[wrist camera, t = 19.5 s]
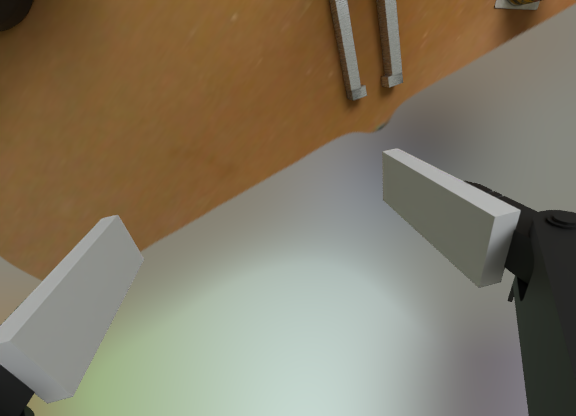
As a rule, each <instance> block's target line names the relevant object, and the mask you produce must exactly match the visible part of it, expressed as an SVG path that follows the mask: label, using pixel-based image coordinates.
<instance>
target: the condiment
mask: <svg viewBox="0 0 576 416" xmlns="http://www.w3.org/2000/svg"><path fill="white" fill-rule="evenodd" d="M540 1H542V0H496V4H495V8H506V9H526V10H527V9H529V10H537V8H538V5H539V2H540Z"/></svg>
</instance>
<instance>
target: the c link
mask: <svg viewBox="0 0 576 416" xmlns="http://www.w3.org/2000/svg"><path fill="white" fill-rule="evenodd" d="M329 2H330V7H331V12H332V18H333V23H334V28H335V34H336V39H337V45H338V50H339V55H340V61H341V66H342V71H343V77H344V82H345V87H346V93H347V98H348V99H349V100H356V99H359V98H362V97H364V96H367V93H366V87H365V85H360V78H359V72H358V66H357V59H356V53H355V47H354V41H353V34H352V28H351V22H350V16H349V9H348V3H347V0H329ZM376 2H377V11H378V20H379V28H380V37H381V46H382V54H383V63H384V72H385V75H384V76H381V83H382V87H392V86H395V85H398V84H400V83H403V77H402V66H401V54H400V42H399V30H398V19H397V7H396V0H376Z"/></svg>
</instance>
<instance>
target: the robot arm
mask: <svg viewBox="0 0 576 416" xmlns="http://www.w3.org/2000/svg"><path fill="white" fill-rule="evenodd" d="M32 1H33V0H0V31H4V30H7V29H9V28H12V27H13V26H15V25H17V24H18V23H19V22H20V21H21V20H22V19H23V18H24V17H25V16H26V14H27V13H28V11H29V9H30V7H31V4H32ZM382 153H383V154H382V155H383V200H384V201H385V202H386V203H387V204H388V205H389V206H390V207H391V208H393V210H395V211H396V212H397V213H398V214H399V215H400V216H401V217H402V218H403V219H404V220H405V221H407V222H408V223H409V224H410V225H411V226H412V227H413V228H414V229H415V230H416V231H417V232H418V233H420V234H421V235H422V236H423V237H424V238H425V239H426V240H427V241H428V242H429V243H430V244H432V245H433V246H434V247H435V248H436V249H437V250H438V251H439V252H440V253H441V254H442V255H444V256H445V257H446V258H447V259H448V260H449V261H450V262H451V263H452V264H453V265H455V267H457V268H458V269H459V270H460V271H461V272H462V273H463V274H464V275H465V276H466V277H467V278H469V279H470V280H471V281H472V282H473V283H474V284H475V285H476V286H477V287H478V288H481V287H484V286H488V285H492V284H495V283H499V282H501V280H502V276H503V272H504V269H505V268H507V269H508V270H509V271H510V272H512V273H513V274H514V275H515V278H514V281H513V284H512V288H511V291H510V294H509V298H508V301H510V302H512V300H513V297H514V298H515V305H516V315H517V323H518V331H519V339H520V347H521V356H522V363H523V372H524V380H525V388H526V396H527V404H528V413H529V416H576V213H574V212H567V211H561V210H546V211H541V212H537V211H535V210H532V209H531V208H528V207H526V206H524V205H522V204H520V203H518V202H516V201H514V200H512V199H510V198H508V197H505V196H502V195H501V194H499V193H497V192H495V191H494V192H493V191H492V190H490V189H489V188H487V187H485V186H483V185H480V184H477V183H472V182H468V181H462V180H459V179H457V178H456V177H453V176H451V175H450V174H448V173H446V172H444V171H442V170H440V169H438V168H436V167H434V166H432V165H429V164H428V163H426V162H424V161H422V160H420V159H418V158H416V157H413V156H412V155H410V154H408V153H406V152H404V151H402V150H400V149H398V148H396V149H392V150H387V151H383V152H382ZM143 260H144V258H143V256H142V255H141V253H140V251H139V249H138V248H137V246H136V244H135V243H134V241H133V239H132V238H131V236H130V234H129V232H128V231H127V229H126V227H125V226H124V224H123V222H122V221H121V219H120V217H119V215H115V216H110V217H106V218H102V219H101V220H100V221H99V222H98V223H97V224H96V225H95V226H94V227H93V228H92V229H91V230H90V232H89V233H88V234H87V235H86V236H85V237H84V238H83V239H82V240H81V241H80V242H79V243H78V244H77V245H76V246H75V247H74V248H73V250H72V251H71V252H70V253H69V254H68V255H67V256H66V257H65V258H64V259H63V260H62V261H61V262H60V263H59V264H58V265H57V266H56V267H55V269H54V270H53V271H52V272H51V273H50V274H49V275H48V276H47V277H46V278H45V279H44V280H43V281H42V282H41V283H40V284H39V286H38V287H37V288H36V289H35V290H34V291H33V292H32V293H31V294H30V295H29V296H28V297H27V298H26V299H25V300H24V301H23V302H22V303H21V304H20V305H19V306H18V307H17V308H16V309H15V310H14V312H13V313H12V314H11V315H10V316H9V317H8V318H7V319H6V320H5V321H4V322H3V324H1V325H0V416H34V413H33V411H32V410H31V409H30V408H29V407H27V406H26V405H27V404H28V402H29V400H30V399H31V397H32V396H33V394H34V393H35V394H36V395H37V396H38V397H40V398H41V399H42V400H44V401H45V402H46V403H51V402H55V401H59V400H62V399H66V398H70V397H73V395H74V393H75V391H76V389H77V388H78V386H79V384H80V382H81V380H82V378H83V376H84V374H85V372H86V370H87V369H88V367H89V365H90V363H91V361H92V359H93V357H94V355H95V353H96V351H97V349H98V347H99V345H100V343H101V342H102V340H103V338H104V336H105V334H106V332H107V330H108V328H109V326H110V324H111V322H112V320H113V318H114V316H115V314H116V312H117V311H118V309H119V307H120V305H121V303H122V301H123V299H124V297H125V295H126V293H127V291H128V289H129V287H130V286H131V284H132V281H133V280H134V278H135V276H136V274H137V272H138V270H139V268H140V266H141V264H142V262H143Z"/></svg>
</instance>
